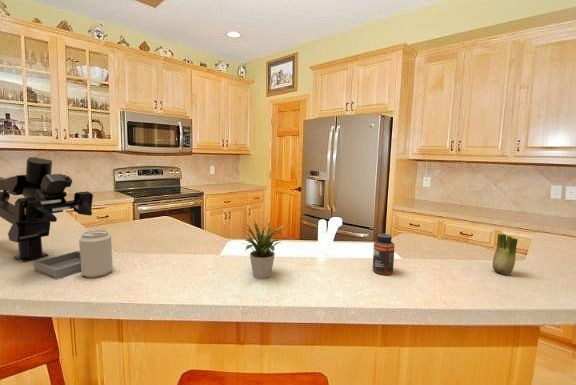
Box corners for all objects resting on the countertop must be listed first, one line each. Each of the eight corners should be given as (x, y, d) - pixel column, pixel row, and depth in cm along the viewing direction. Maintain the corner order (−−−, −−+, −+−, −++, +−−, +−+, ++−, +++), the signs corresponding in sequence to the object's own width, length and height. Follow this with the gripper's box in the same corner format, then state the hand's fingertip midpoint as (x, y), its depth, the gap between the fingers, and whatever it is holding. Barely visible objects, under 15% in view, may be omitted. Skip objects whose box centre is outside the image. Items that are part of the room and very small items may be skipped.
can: (98, 280, 81) (95, 236, 79) (74, 277, 83) (71, 234, 81) (119, 269, 88) (116, 229, 87) (97, 267, 90) (94, 227, 88)
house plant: (222, 279, 83) (222, 221, 81) (246, 262, 96) (246, 212, 94) (270, 289, 78) (271, 227, 76) (288, 269, 91) (290, 216, 89)
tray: (34, 270, 86) (33, 262, 86) (78, 258, 96) (77, 250, 96) (56, 279, 81) (55, 270, 81) (100, 265, 91) (99, 257, 91)
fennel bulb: (515, 277, 89) (521, 238, 88) (497, 275, 90) (501, 236, 89) (506, 270, 95) (510, 232, 93) (488, 268, 96) (492, 231, 94)
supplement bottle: (394, 270, 93) (396, 234, 91) (391, 277, 87) (394, 239, 86) (373, 266, 95) (376, 231, 94) (370, 273, 90) (372, 236, 88)
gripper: (3, 172, 79) (37, 193, 73) (78, 169, 96) (110, 186, 90) (2, 211, 82) (33, 234, 76) (75, 201, 99) (105, 220, 93)
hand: (74, 216), depth 84 cm, fingers open, 9 cm apart
